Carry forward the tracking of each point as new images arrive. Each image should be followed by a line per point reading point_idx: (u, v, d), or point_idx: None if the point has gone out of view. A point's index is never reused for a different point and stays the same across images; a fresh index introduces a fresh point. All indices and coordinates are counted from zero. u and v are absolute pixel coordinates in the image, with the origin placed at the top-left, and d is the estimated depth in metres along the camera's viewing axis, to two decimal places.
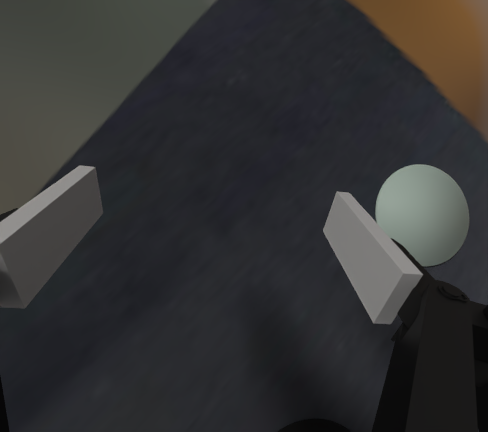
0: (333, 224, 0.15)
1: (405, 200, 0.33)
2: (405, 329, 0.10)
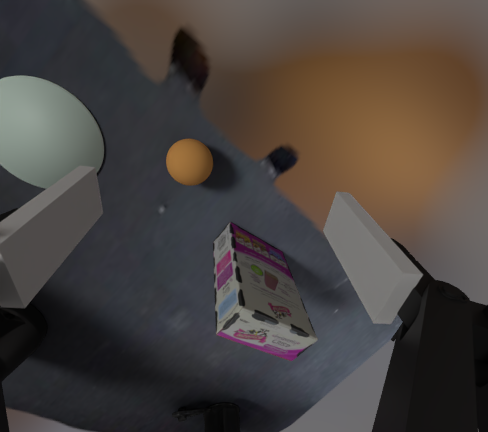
0: (333, 224, 0.15)
1: (14, 121, 0.29)
2: (405, 329, 0.10)
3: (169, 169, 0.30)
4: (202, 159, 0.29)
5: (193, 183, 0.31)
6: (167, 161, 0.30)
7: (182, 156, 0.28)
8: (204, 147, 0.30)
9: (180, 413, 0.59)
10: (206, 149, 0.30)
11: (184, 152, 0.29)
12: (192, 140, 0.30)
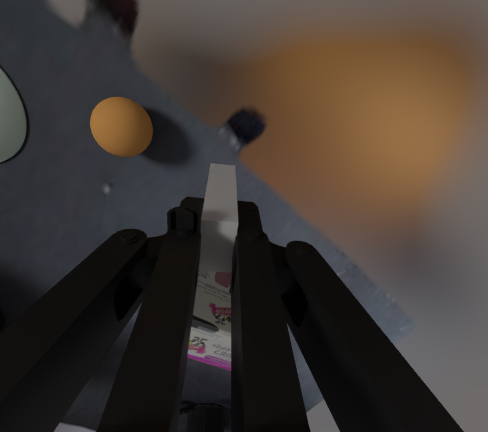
0: None
1: None
2: (234, 280, 0.11)
3: (93, 135, 0.24)
4: (130, 121, 0.23)
5: (125, 153, 0.25)
6: (90, 125, 0.24)
7: (103, 117, 0.23)
8: (135, 107, 0.24)
9: None
10: (138, 109, 0.24)
11: (105, 111, 0.23)
12: (120, 98, 0.24)
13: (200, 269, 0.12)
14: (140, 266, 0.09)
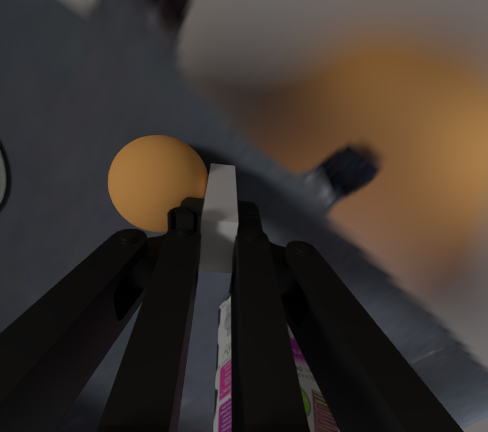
0: None
1: None
2: (234, 280, 0.11)
3: (113, 203, 0.14)
4: (180, 182, 0.13)
5: (166, 230, 0.14)
6: (108, 185, 0.14)
7: (132, 177, 0.12)
8: (187, 154, 0.14)
9: None
10: (192, 158, 0.14)
11: (136, 167, 0.12)
12: (160, 139, 0.13)
13: (200, 269, 0.12)
14: (140, 266, 0.09)
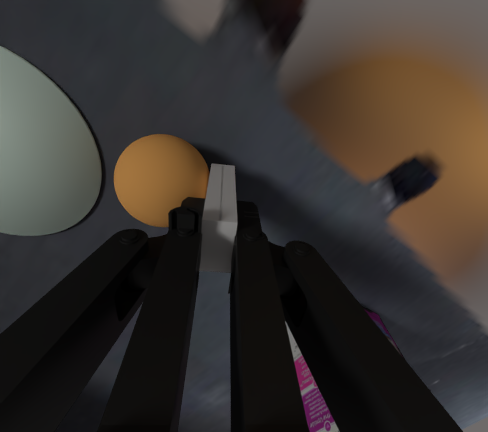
0: None
1: None
2: (233, 280, 0.11)
3: None
4: (136, 175, 0.13)
5: (139, 220, 0.15)
6: None
7: (118, 160, 0.14)
8: (163, 154, 0.13)
9: None
10: (165, 159, 0.13)
11: (122, 153, 0.14)
12: (158, 136, 0.14)
13: (201, 269, 0.12)
14: (141, 266, 0.09)
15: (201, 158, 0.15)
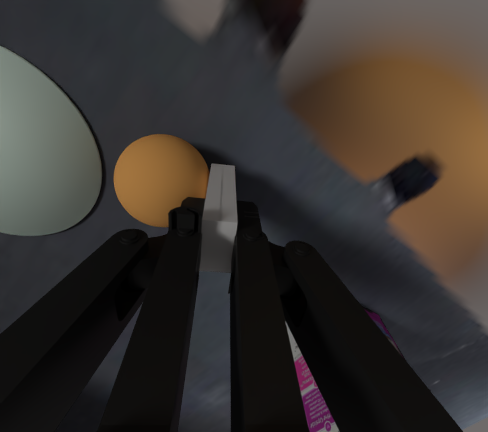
0: None
1: None
2: (233, 280, 0.11)
3: None
4: (136, 176, 0.13)
5: (139, 220, 0.15)
6: None
7: (118, 160, 0.14)
8: (163, 154, 0.13)
9: None
10: (165, 159, 0.13)
11: (122, 153, 0.14)
12: (158, 136, 0.14)
13: (201, 269, 0.12)
14: (141, 266, 0.09)
15: (201, 158, 0.15)
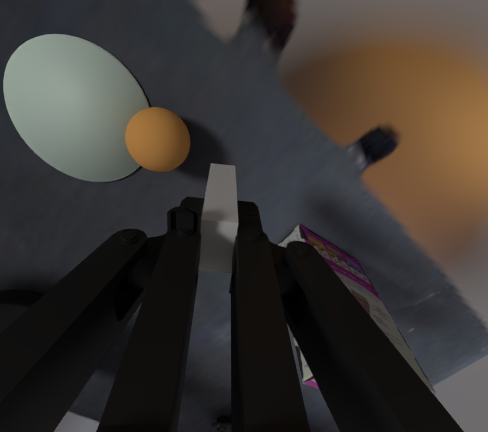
0: None
1: (48, 96, 0.23)
2: (234, 280, 0.11)
3: None
4: None
5: None
6: None
7: None
8: (133, 119, 0.21)
9: (220, 425, 0.54)
10: (131, 122, 0.21)
11: None
12: (149, 109, 0.21)
13: (200, 269, 0.12)
14: (140, 266, 0.09)
15: (155, 132, 0.20)
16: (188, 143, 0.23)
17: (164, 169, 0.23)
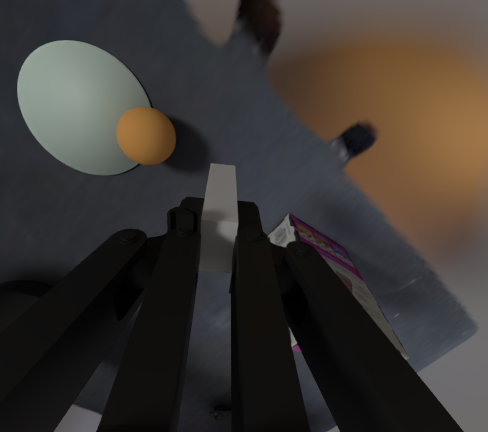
0: None
1: (58, 96, 0.26)
2: (234, 280, 0.11)
3: None
4: None
5: None
6: None
7: None
8: None
9: (218, 413, 0.56)
10: (120, 118, 0.24)
11: None
12: (136, 108, 0.24)
13: (200, 269, 0.12)
14: (140, 266, 0.09)
15: (131, 129, 0.23)
16: (166, 142, 0.24)
17: (143, 163, 0.25)
